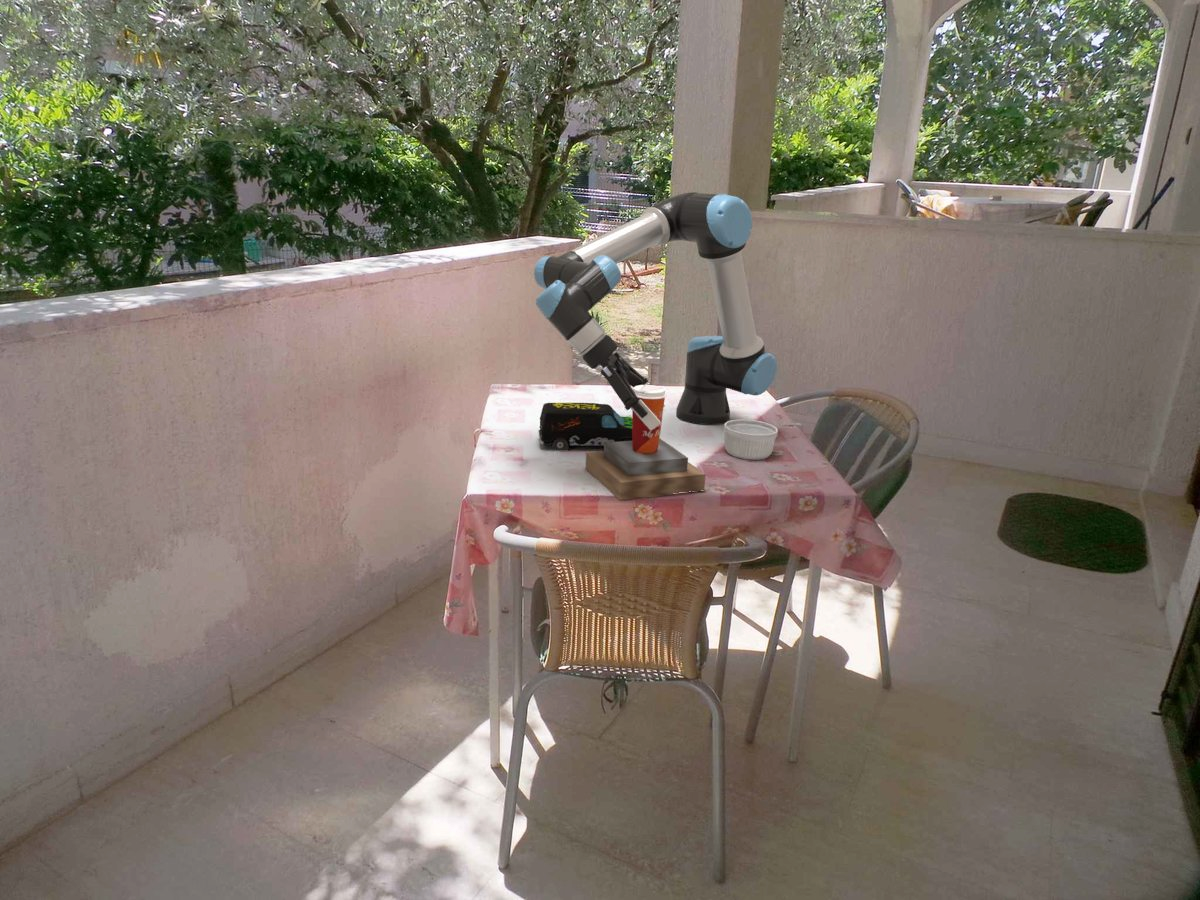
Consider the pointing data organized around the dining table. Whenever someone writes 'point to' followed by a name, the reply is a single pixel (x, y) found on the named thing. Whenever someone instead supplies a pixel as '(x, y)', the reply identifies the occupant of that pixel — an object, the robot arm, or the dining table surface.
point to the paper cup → (641, 434)
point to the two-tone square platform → (643, 471)
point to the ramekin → (749, 438)
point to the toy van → (582, 425)
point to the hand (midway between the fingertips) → (658, 417)
